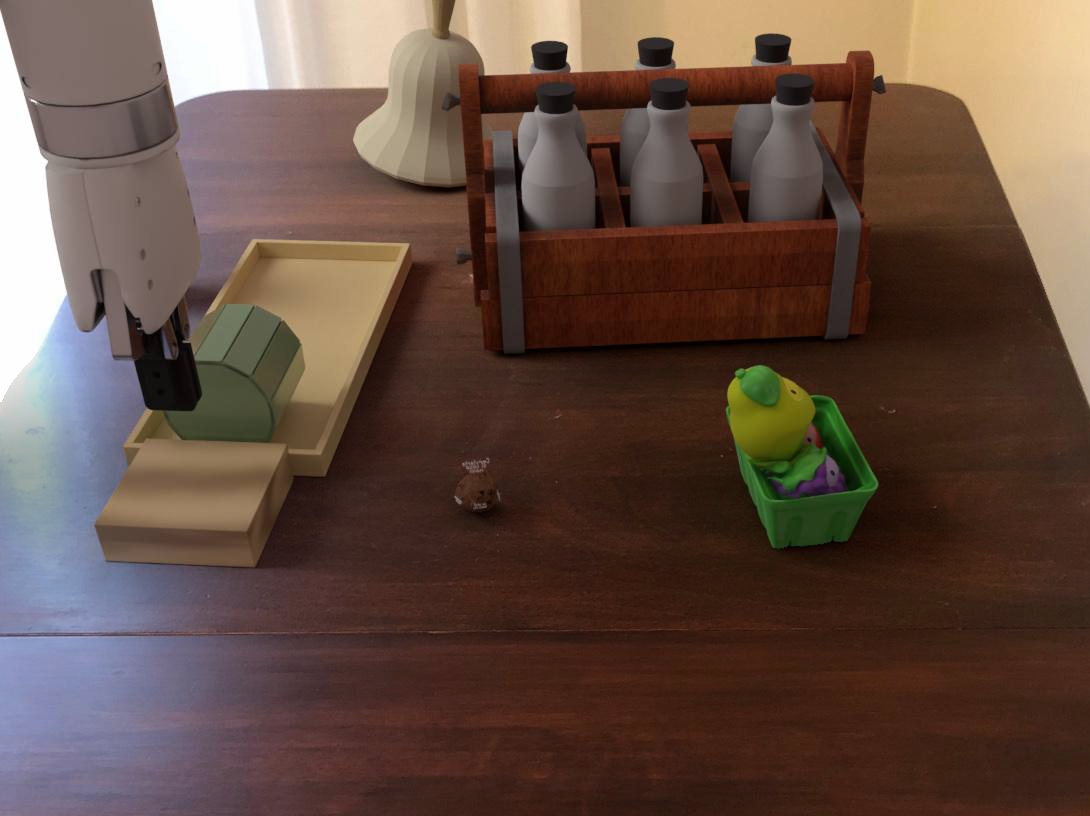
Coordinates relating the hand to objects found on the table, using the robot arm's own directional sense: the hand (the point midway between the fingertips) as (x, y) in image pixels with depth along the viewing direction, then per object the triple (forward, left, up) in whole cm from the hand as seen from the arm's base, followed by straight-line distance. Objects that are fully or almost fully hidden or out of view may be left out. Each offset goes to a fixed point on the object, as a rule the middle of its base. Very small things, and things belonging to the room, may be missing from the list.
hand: (174, 403), depth 86 cm
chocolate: (+15, +11, -9) cm, 21 cm away
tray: (-11, +19, -9) cm, 24 cm away
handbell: (-26, +55, -9) cm, 62 cm away
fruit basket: (+32, +23, -9) cm, 40 cm away
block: (0, 0, -9) cm, 9 cm away
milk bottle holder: (+8, +45, -9) cm, 47 cm away
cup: (-3, +6, -5) cm, 8 cm away
